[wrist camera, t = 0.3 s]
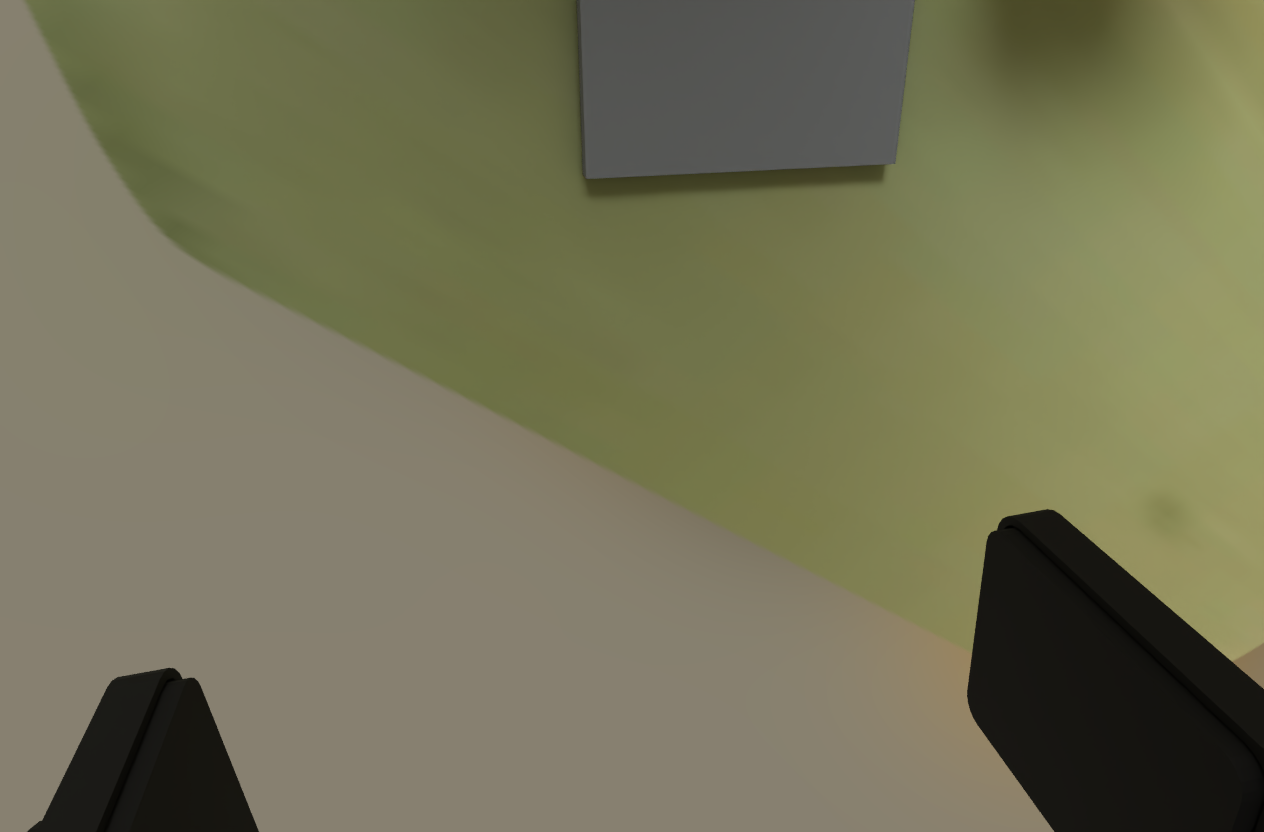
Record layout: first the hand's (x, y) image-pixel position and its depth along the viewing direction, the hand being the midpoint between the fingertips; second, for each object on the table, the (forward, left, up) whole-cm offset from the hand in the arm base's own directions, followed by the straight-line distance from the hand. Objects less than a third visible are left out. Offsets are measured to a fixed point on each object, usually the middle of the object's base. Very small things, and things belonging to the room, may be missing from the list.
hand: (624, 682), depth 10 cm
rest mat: (-7, +11, -31) cm, 33 cm away
